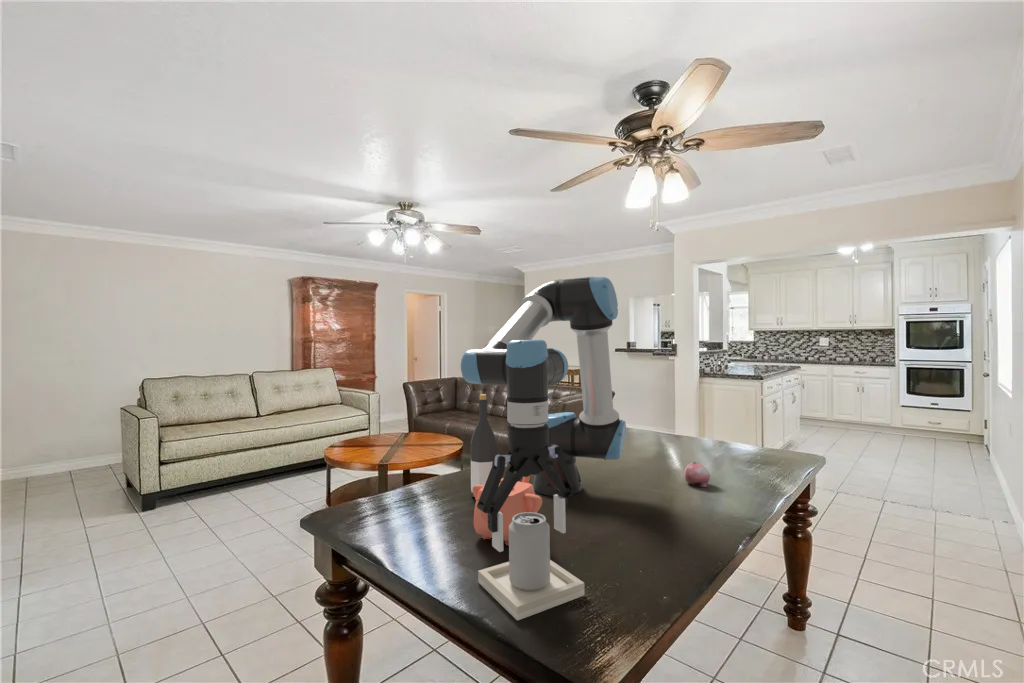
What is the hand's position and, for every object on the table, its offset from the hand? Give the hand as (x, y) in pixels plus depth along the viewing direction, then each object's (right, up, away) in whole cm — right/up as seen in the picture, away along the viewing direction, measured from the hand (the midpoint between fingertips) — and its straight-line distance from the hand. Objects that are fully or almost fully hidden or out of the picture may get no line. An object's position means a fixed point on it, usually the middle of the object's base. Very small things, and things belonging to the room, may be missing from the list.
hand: (530, 539), depth 83 cm
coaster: (0, -9, -1) cm, 9 cm away
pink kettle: (-4, -9, +24) cm, 26 cm away
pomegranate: (+55, -9, +59) cm, 81 cm away
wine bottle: (-12, -10, +52) cm, 54 cm away
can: (0, -8, -1) cm, 8 cm away
